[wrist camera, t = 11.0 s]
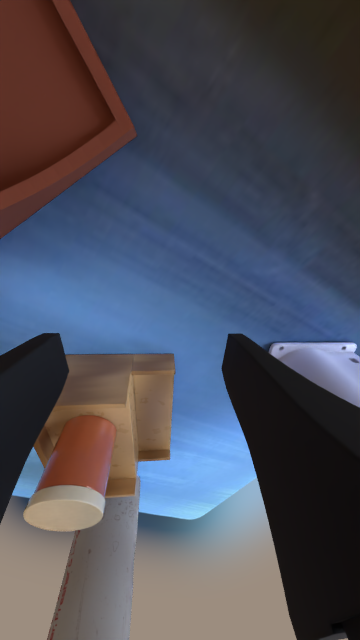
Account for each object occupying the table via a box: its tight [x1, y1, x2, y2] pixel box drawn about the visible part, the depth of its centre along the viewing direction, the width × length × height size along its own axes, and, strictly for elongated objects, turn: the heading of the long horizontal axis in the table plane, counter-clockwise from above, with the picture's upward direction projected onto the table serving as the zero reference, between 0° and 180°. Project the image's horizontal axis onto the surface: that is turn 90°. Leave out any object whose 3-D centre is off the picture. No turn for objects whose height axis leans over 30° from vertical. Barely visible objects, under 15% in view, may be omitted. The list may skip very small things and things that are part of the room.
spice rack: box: [34, 354, 175, 498], centre depth 22 cm, size 12×15×6 cm
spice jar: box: [23, 415, 117, 531], centre depth 16 cm, size 5×5×6 cm
